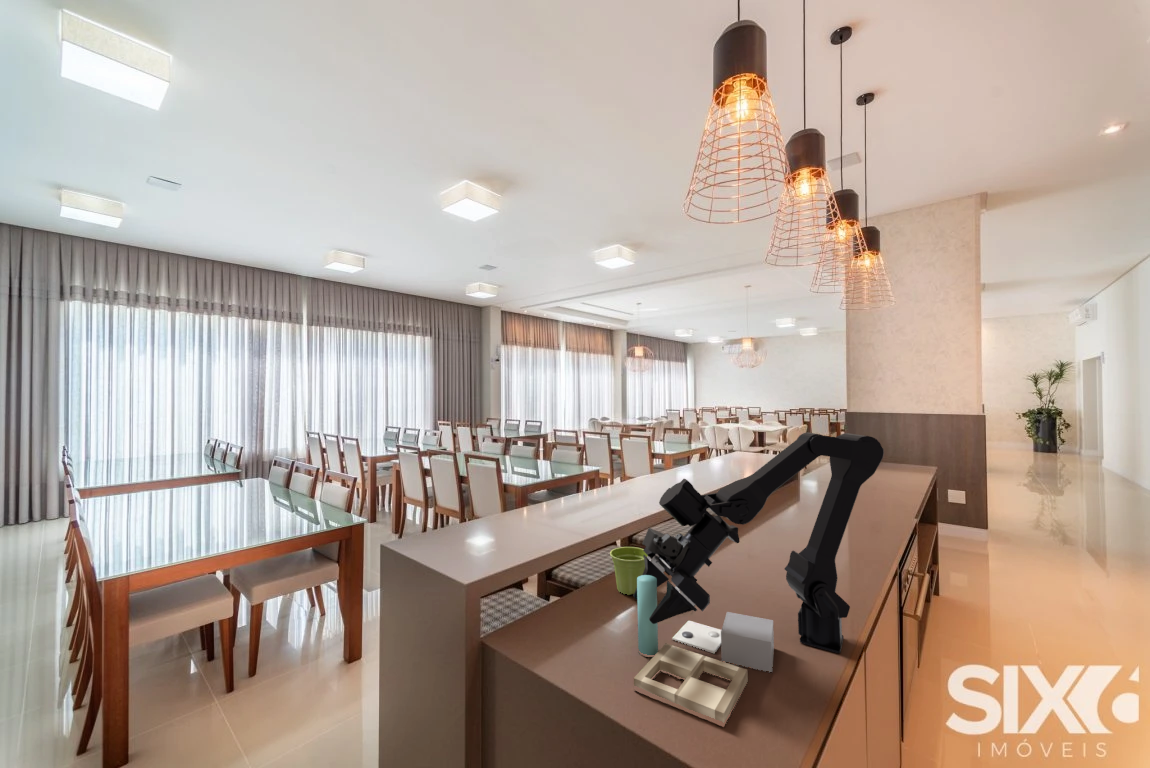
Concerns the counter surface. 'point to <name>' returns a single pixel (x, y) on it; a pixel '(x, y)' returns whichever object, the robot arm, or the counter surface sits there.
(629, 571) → the plant pot
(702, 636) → the pattern tile
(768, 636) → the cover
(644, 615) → the pin
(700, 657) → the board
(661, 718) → the counter surface
